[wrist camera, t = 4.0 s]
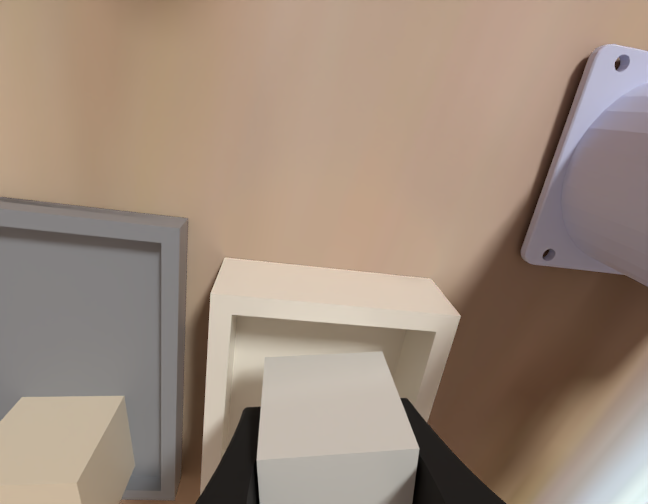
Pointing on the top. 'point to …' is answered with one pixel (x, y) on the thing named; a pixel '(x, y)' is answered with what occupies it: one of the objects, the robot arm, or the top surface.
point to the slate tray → (98, 321)
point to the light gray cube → (334, 432)
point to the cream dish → (316, 334)
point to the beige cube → (65, 451)
